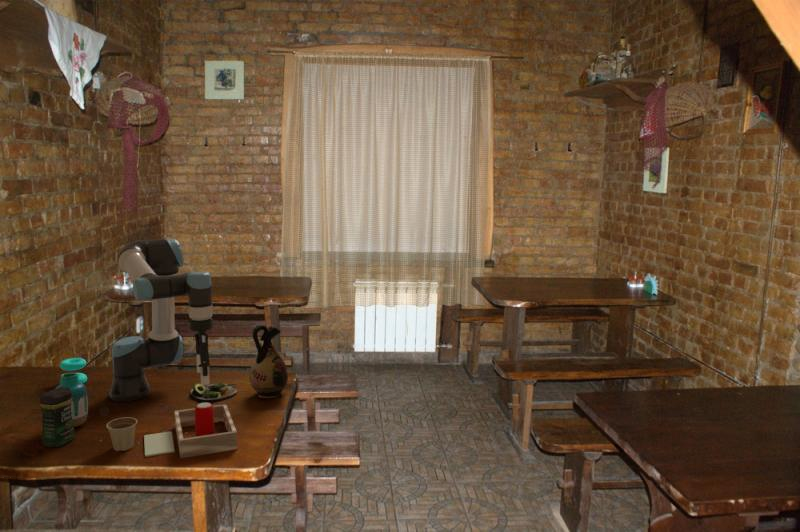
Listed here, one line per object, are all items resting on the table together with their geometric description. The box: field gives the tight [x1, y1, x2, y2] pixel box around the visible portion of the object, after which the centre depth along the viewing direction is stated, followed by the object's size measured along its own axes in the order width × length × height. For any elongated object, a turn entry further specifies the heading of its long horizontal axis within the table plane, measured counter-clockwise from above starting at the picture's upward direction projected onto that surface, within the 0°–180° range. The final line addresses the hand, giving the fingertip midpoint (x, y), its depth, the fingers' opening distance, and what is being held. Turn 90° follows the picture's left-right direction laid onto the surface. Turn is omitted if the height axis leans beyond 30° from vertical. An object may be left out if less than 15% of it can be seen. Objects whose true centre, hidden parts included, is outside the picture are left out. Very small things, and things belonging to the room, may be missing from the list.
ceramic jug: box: [249, 324, 289, 399], centre depth 252 cm, size 17×15×30 cm
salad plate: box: [189, 382, 238, 403], centre depth 256 cm, size 19×18×5 cm
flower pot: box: [105, 416, 138, 452], centre depth 206 cm, size 9×9×9 cm
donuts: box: [59, 357, 88, 384], centre depth 264 cm, size 10×10×10 cm
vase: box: [55, 372, 89, 428], centre depth 221 cm, size 11×11×19 cm
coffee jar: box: [39, 387, 76, 448], centre depth 208 cm, size 10×8×19 cm
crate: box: [174, 403, 238, 459], centre depth 214 cm, size 26×18×6 cm
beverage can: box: [194, 402, 215, 437], centre depth 214 cm, size 6×6×12 cm
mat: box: [143, 431, 176, 458], centre depth 209 cm, size 16×9×1 cm, turn 23°
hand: (203, 378), depth 211 cm, fingers open, 13 cm apart
